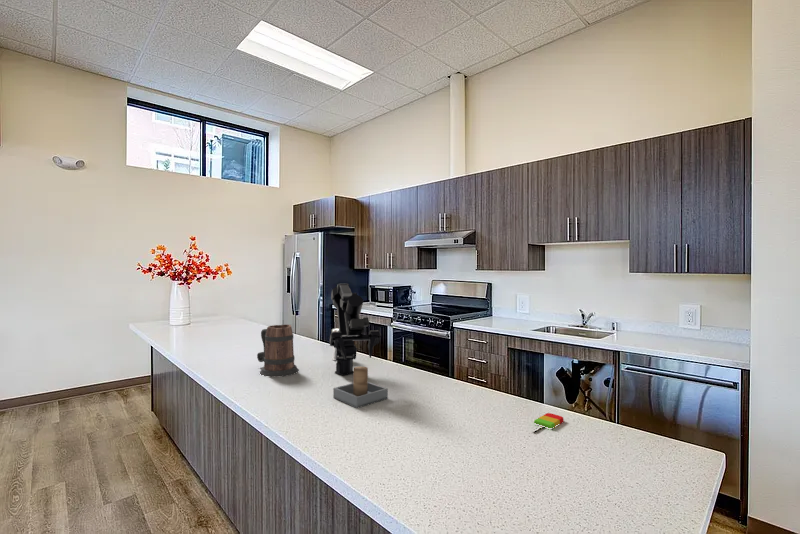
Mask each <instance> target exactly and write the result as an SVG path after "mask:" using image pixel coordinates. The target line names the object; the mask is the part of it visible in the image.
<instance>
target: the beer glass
mask: <svg viewBox="0 0 800 534" xmlns="http://www.w3.org/2000/svg"><path fill="white" fill-rule="evenodd" d="M332 332H339V327H338V328H337V327H336V328H332V329H331V333H332ZM331 347H332V357H331V360H332V361H333V360H335V354H334V353H335V348H334V346H331Z"/></svg>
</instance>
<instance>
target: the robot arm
mask: <svg viewBox="0 0 800 534" xmlns="http://www.w3.org/2000/svg"><path fill="white" fill-rule="evenodd" d="M336 285H337V286H335V287H334V288H332V290H331V292H330V293H331V295H330V299H331V301H332V305H333V307H334V308H335V309H336V313H337V323H338V325H337V326H338V328H339V332H332V331H331V333H330V336H329V346H330V347H332V346H334V348H335V353H334V354H335V360H336V361H335V362H336V363H335V366H336V367H335V371H334V374H337V375H340V376H348V375H351V374H352V375H353V374H354V366H353V365H354V360H356V359H357V351H358V348H357V346H356V344H355V341H367V343H368V344H367V349H368V356H369V358H372V355H373V349H374V347H375V346H377V345H379V343H380V340H381V337H382V333H381V331H379V330H377V329H376V330H369V332H368V334H363V333H364V331H365V330H364V328H366V327H367V328H368V327H369V325H370V320H369V317H368V316H367V317H365V316H364V317H363V318H361V317H360V314H361V312H362V309H363V306H364V305H363V303H364V299H363V297H362V296H360V295H358V293H357V292H352V290H351V287H350V284H349V283H338V284H336Z"/></svg>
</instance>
